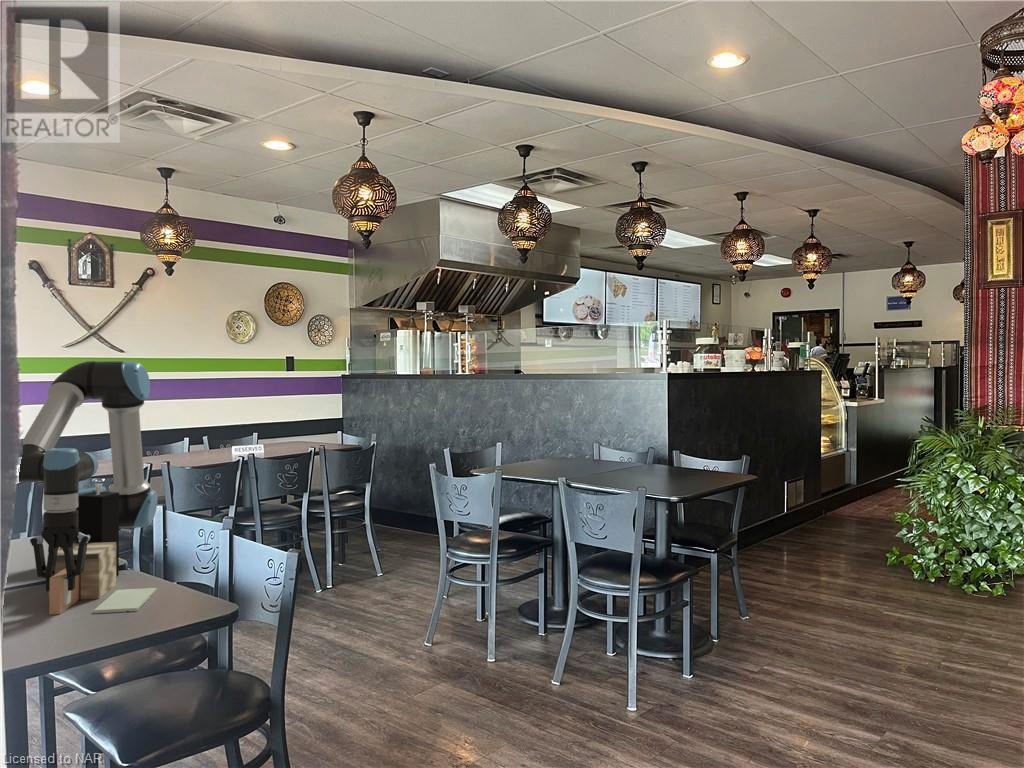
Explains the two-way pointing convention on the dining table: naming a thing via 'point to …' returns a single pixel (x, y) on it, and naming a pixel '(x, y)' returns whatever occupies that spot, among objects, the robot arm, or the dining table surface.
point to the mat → (125, 600)
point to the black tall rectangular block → (100, 517)
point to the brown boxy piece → (94, 568)
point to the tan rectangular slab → (62, 592)
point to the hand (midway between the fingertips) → (60, 603)
